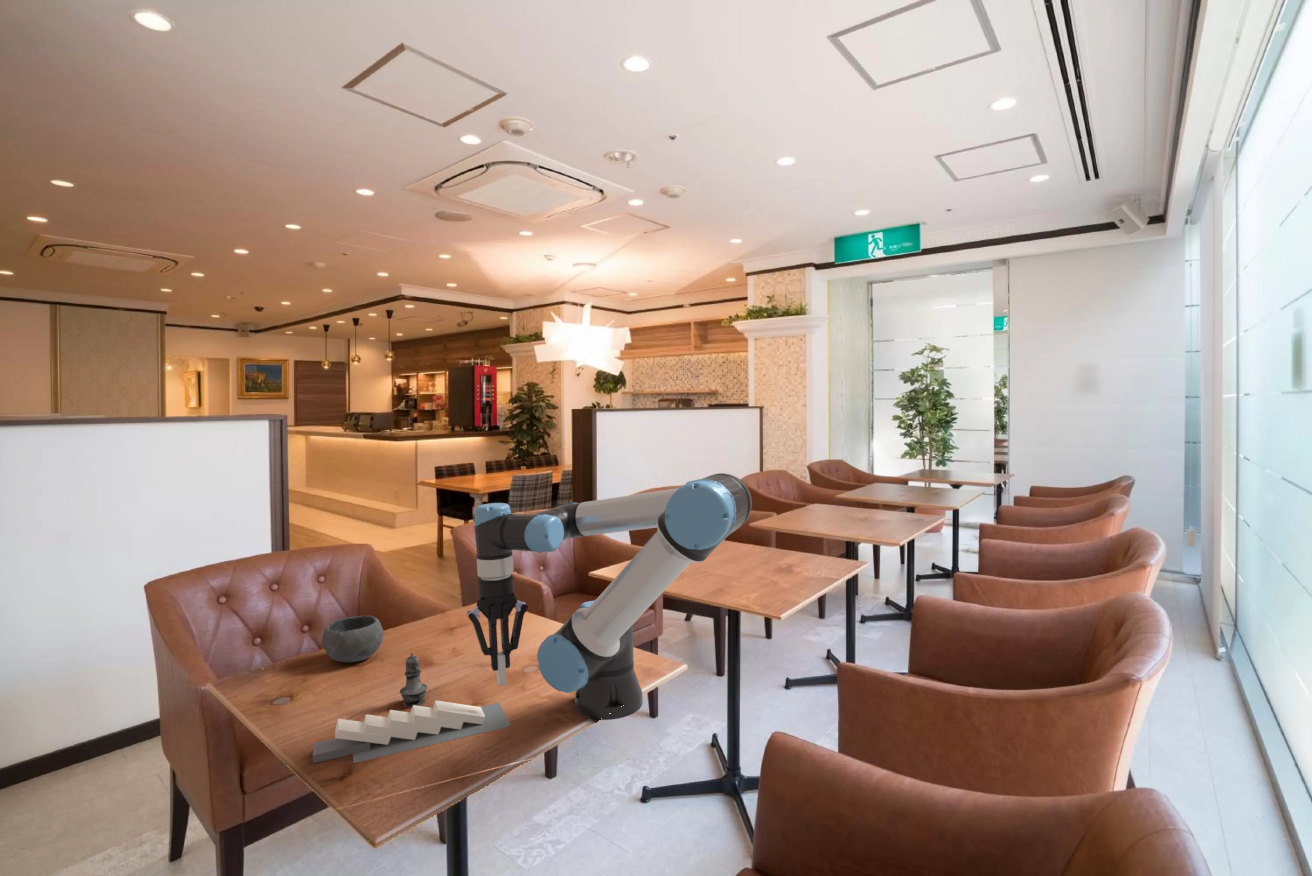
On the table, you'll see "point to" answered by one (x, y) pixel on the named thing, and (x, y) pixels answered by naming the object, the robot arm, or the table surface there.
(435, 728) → the tile
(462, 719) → the tile
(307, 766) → the table surface
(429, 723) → the tile
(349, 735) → the tile
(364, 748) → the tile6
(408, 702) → the grey chess piece
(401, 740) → the mat
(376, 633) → the bowl
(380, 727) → the tile
